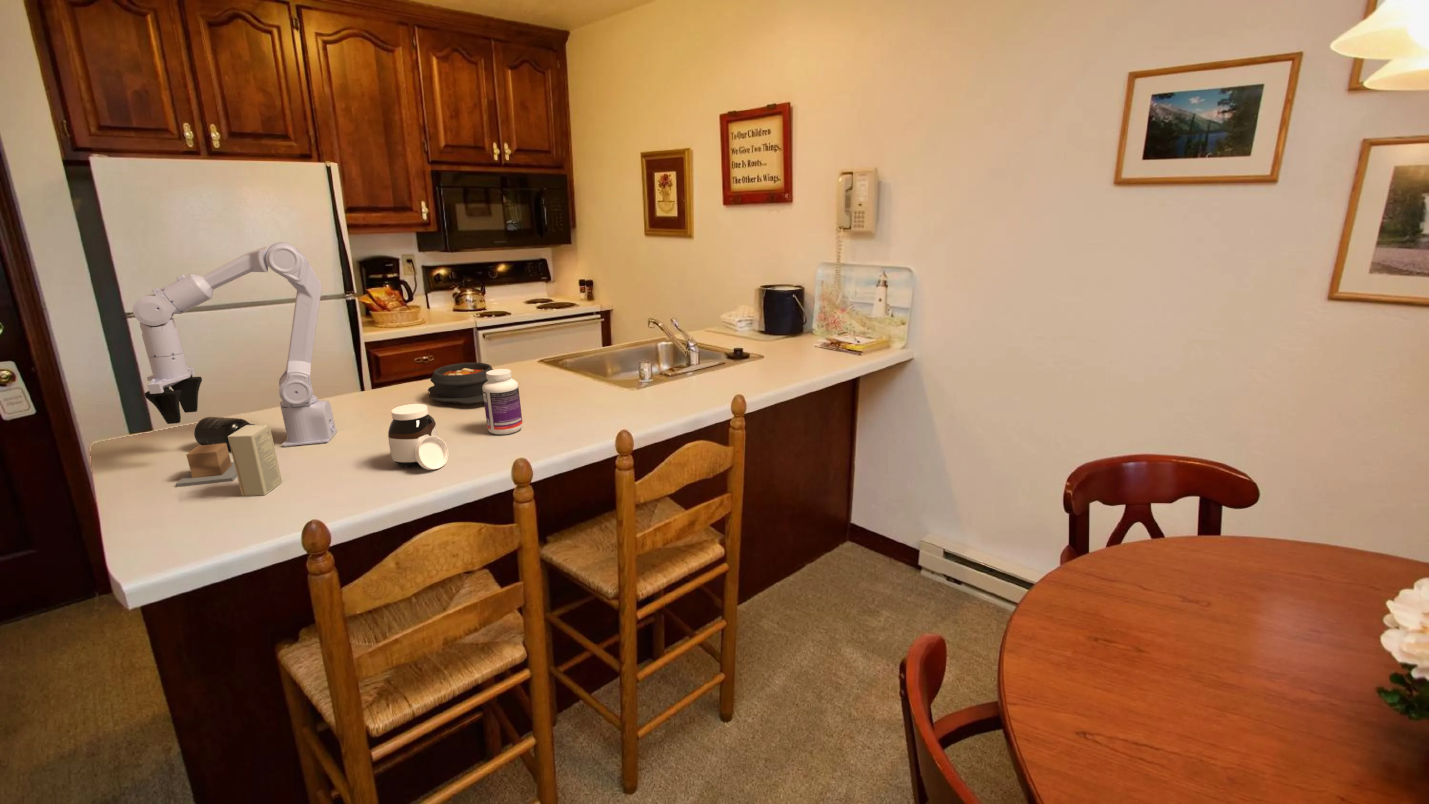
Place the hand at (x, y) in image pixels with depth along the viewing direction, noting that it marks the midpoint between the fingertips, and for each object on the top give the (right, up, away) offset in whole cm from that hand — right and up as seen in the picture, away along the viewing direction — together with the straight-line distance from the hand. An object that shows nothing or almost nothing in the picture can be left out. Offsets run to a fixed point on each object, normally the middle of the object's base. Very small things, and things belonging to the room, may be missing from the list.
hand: (182, 417), depth 138 cm
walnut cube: (+10, -11, -5) cm, 16 cm away
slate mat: (+11, -11, -5) cm, 17 cm away
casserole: (+43, +4, +44) cm, 62 cm away
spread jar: (+51, -10, 0) cm, 52 cm away
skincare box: (+25, -14, -12) cm, 31 cm away
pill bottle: (+62, -4, +18) cm, 65 cm away
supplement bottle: (-2, -3, +9) cm, 10 cm away
